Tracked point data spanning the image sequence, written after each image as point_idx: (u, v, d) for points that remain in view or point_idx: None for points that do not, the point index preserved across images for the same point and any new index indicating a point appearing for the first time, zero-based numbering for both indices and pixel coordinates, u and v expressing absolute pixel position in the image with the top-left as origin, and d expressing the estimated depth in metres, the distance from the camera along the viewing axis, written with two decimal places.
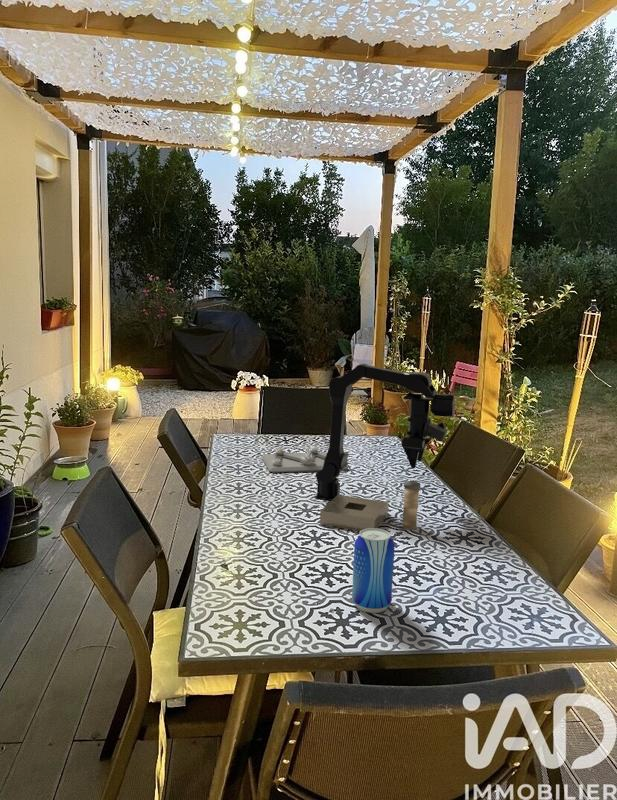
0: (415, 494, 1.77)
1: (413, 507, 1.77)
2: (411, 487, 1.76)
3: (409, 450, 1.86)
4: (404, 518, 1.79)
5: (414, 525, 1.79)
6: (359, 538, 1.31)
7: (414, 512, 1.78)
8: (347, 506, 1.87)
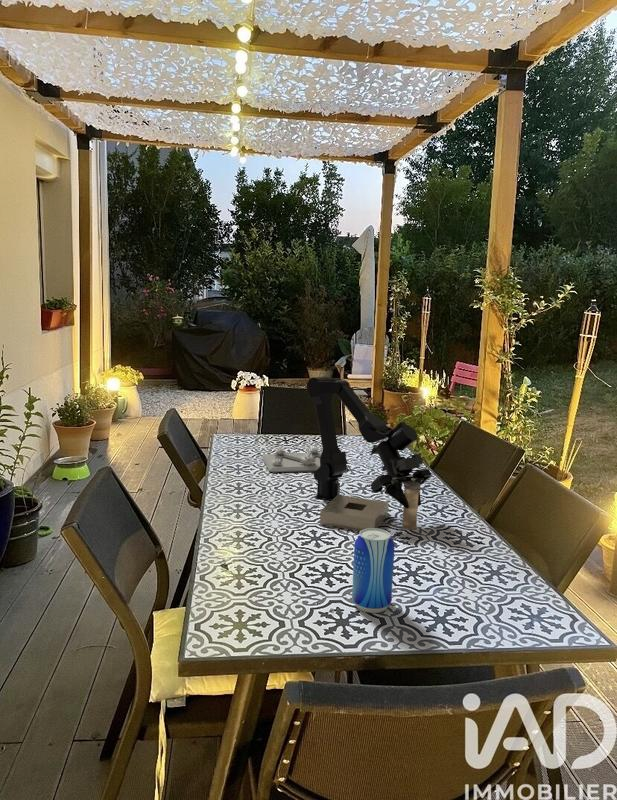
0: (415, 494, 1.77)
1: (413, 507, 1.77)
2: (411, 487, 1.76)
3: (393, 492, 1.80)
4: (404, 518, 1.79)
5: (414, 525, 1.79)
6: (359, 538, 1.31)
7: (414, 512, 1.78)
8: (347, 506, 1.87)
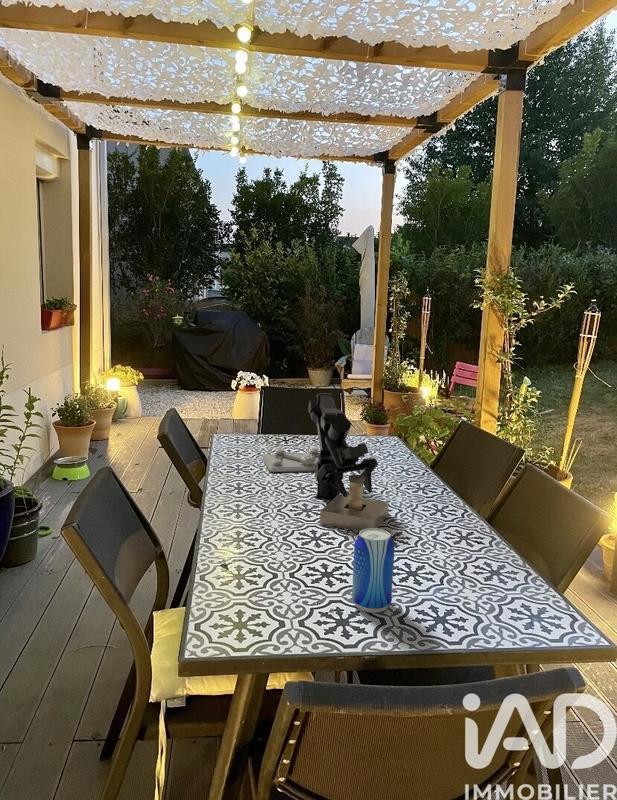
0: (359, 487, 1.81)
1: (358, 500, 1.82)
2: (355, 480, 1.81)
3: (333, 482, 1.83)
4: None
5: None
6: (359, 538, 1.31)
7: (358, 504, 1.82)
8: (347, 506, 1.87)
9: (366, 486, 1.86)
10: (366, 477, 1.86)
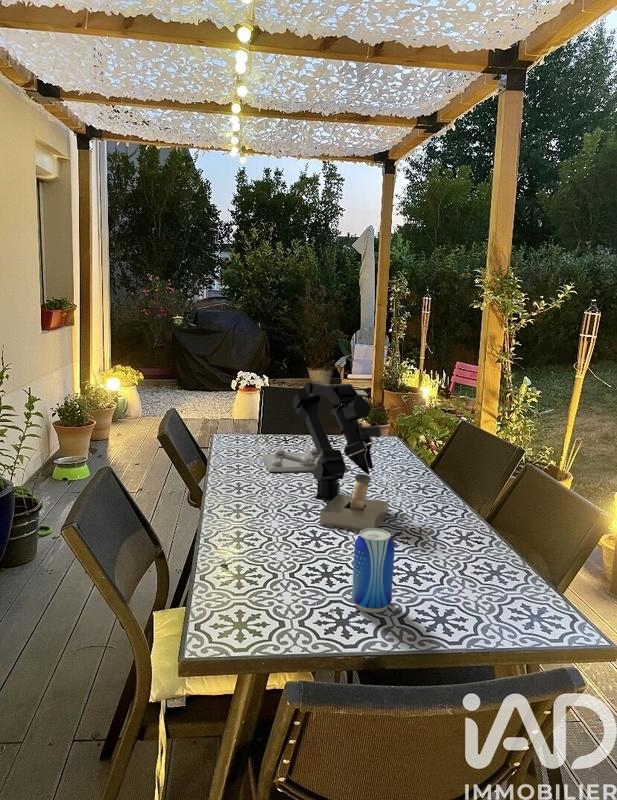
0: (364, 487, 1.81)
1: (361, 500, 1.82)
2: (361, 480, 1.81)
3: (355, 457, 1.85)
4: None
5: None
6: (359, 538, 1.31)
7: (361, 504, 1.82)
8: (347, 506, 1.87)
9: (366, 462, 1.95)
10: (368, 453, 1.96)
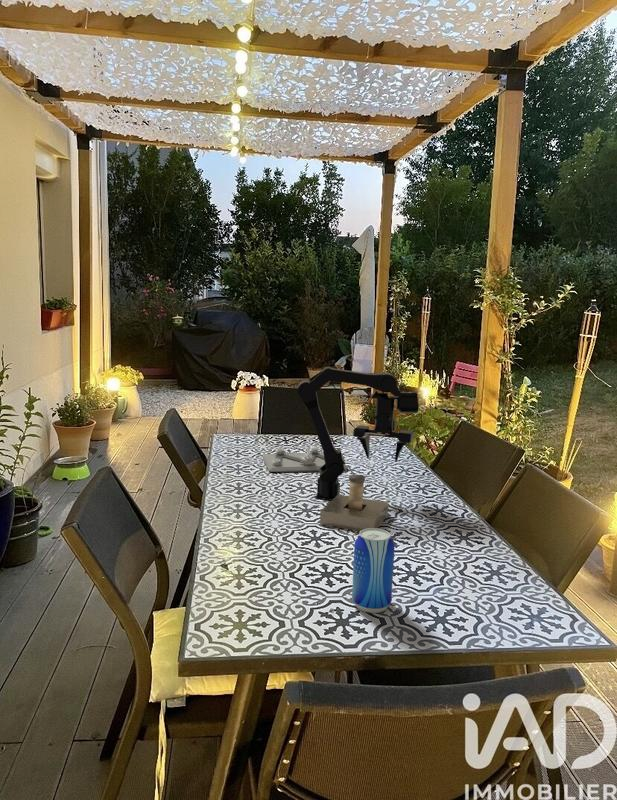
0: (359, 487, 1.81)
1: (358, 500, 1.82)
2: (355, 480, 1.81)
3: None
4: None
5: None
6: (359, 538, 1.31)
7: (359, 504, 1.82)
8: (347, 506, 1.87)
9: (368, 451, 2.03)
10: (368, 443, 2.04)
